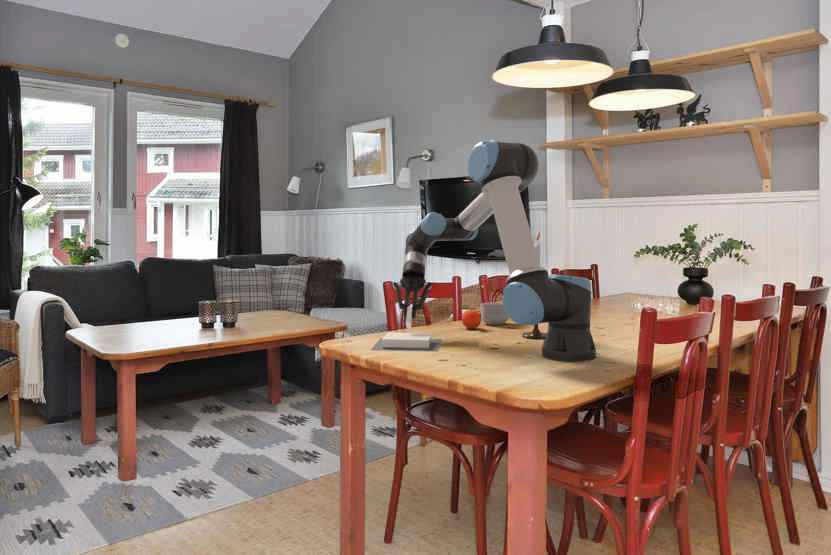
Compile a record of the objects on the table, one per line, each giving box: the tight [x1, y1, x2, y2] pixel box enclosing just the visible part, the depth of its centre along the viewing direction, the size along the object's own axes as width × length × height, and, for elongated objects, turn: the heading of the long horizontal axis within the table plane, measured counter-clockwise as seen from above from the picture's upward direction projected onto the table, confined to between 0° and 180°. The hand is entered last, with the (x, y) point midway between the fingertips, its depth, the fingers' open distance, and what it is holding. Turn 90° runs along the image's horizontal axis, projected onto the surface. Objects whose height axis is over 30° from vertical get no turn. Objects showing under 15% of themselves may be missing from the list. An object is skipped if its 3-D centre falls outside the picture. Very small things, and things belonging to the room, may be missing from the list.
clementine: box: [459, 308, 482, 330], centre depth 235 cm, size 8×7×7 cm
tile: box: [382, 331, 433, 349], centre depth 202 cm, size 3×14×12 cm
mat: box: [370, 337, 443, 352], centre depth 203 cm, size 20×20×1 cm
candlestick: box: [521, 231, 547, 340], centre depth 217 cm, size 11×11×35 cm
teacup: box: [479, 301, 510, 326], centre depth 246 cm, size 14×11×8 cm
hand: (408, 325), depth 205 cm, fingers closed
